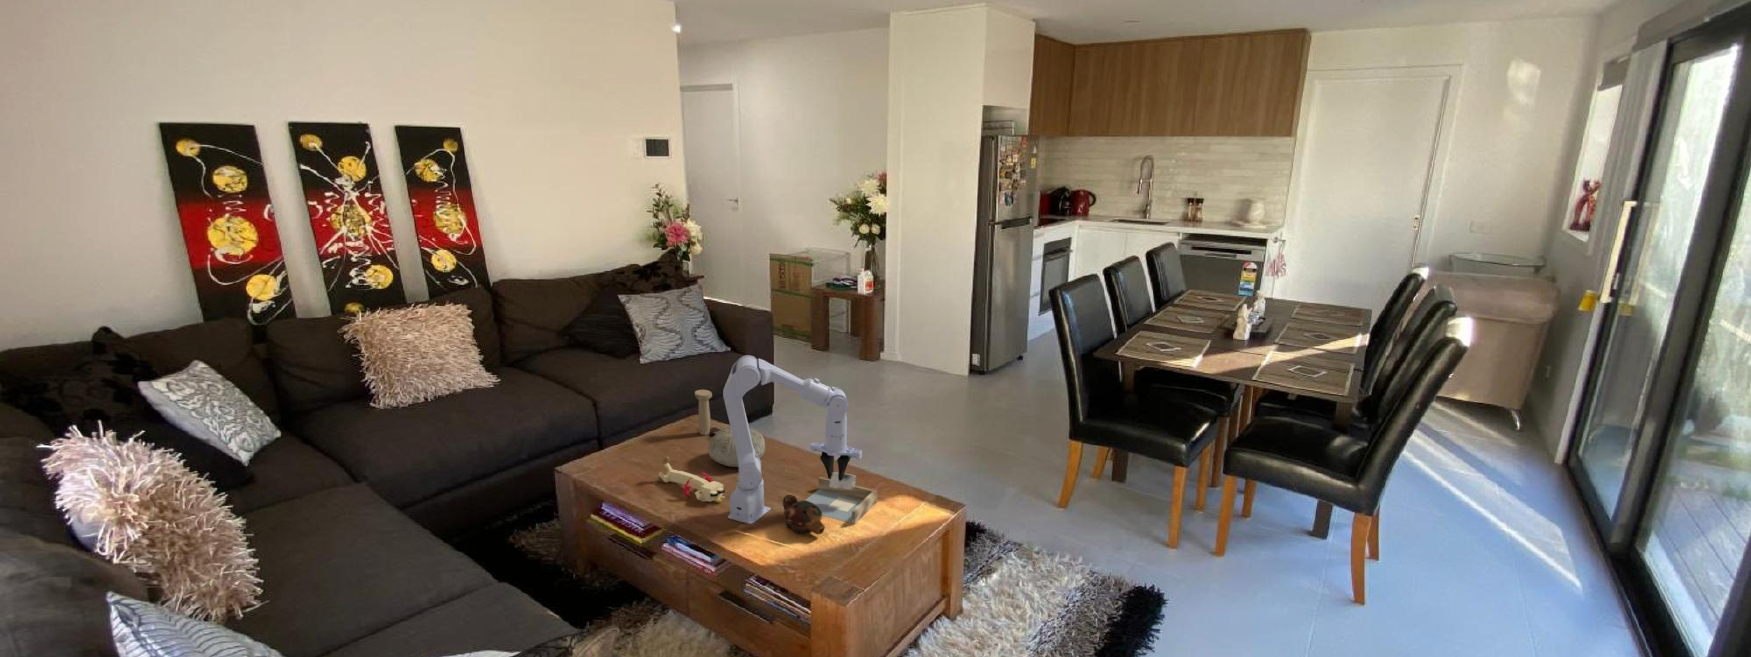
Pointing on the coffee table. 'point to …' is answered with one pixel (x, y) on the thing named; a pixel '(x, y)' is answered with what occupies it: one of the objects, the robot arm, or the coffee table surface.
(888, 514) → the coffee table surface
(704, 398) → the handle
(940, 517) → the coffee table surface
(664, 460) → the cream blocky elongated figure
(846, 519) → the board
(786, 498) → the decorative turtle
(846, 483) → the bracket
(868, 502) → the walls
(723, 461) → the decorative shell
